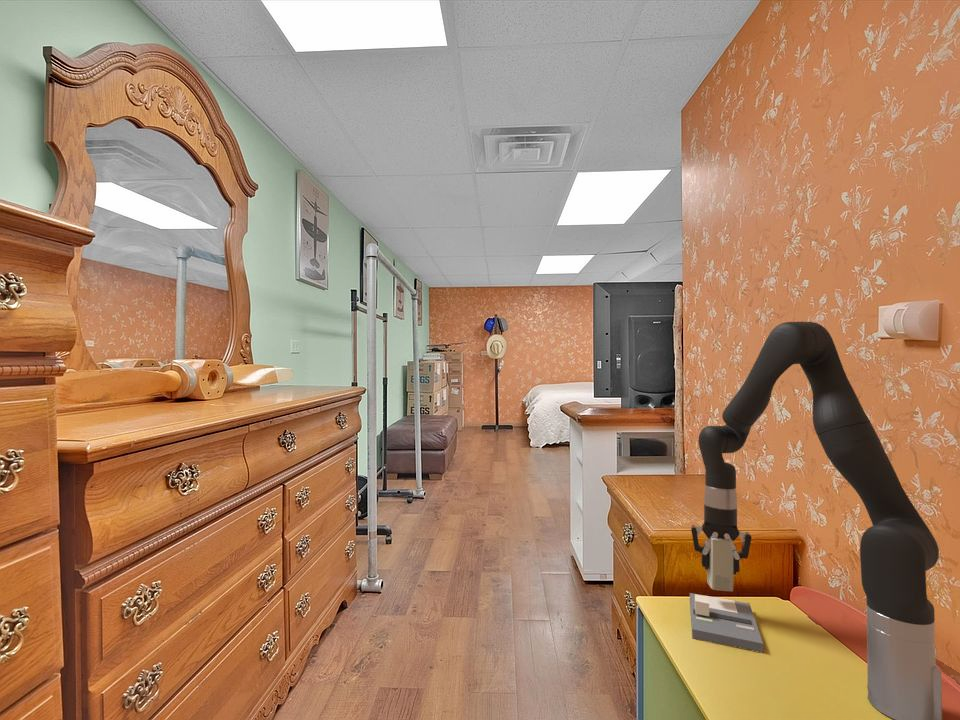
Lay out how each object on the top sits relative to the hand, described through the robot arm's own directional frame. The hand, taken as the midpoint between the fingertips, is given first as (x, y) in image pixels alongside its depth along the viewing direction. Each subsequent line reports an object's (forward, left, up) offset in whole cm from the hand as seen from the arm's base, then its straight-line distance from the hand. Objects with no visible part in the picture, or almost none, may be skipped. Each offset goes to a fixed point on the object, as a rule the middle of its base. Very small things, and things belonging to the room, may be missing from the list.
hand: (720, 570), depth 119 cm
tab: (+5, +7, -8) cm, 12 cm away
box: (0, 0, -5) cm, 5 cm away
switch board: (0, +6, -11) cm, 12 cm away
